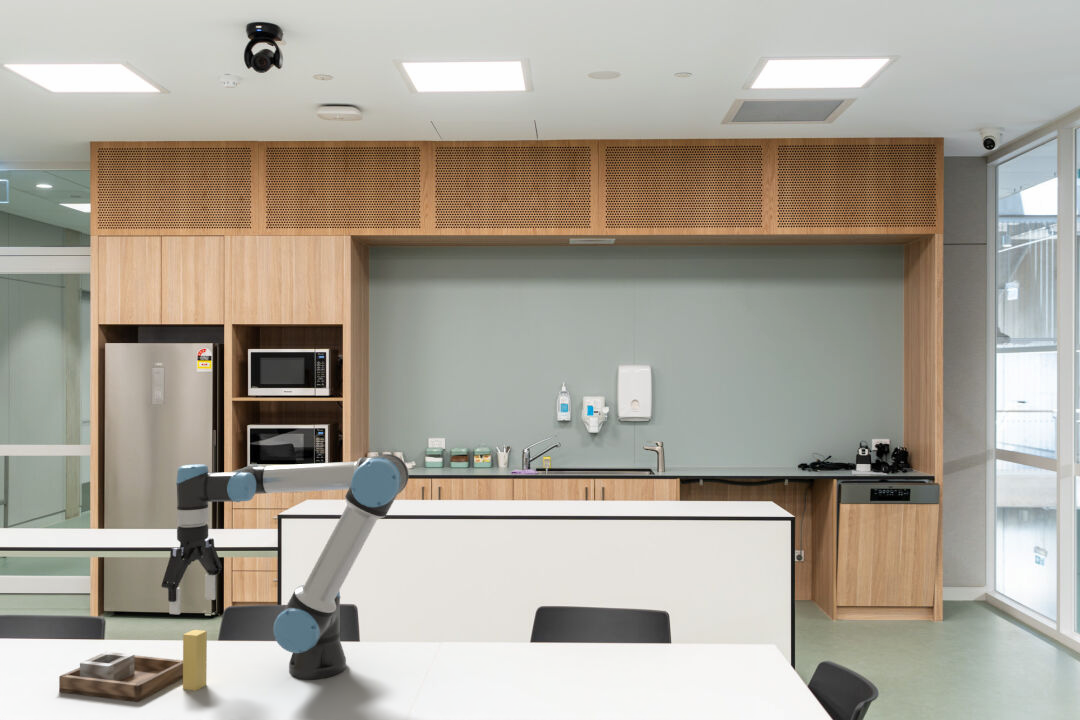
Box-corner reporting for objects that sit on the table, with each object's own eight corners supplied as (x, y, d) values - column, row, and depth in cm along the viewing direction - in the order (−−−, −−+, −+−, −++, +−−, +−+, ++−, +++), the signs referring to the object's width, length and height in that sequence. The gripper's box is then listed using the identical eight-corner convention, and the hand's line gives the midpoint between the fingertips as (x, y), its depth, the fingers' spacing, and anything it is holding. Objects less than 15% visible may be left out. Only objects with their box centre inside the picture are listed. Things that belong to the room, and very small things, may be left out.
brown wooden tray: (187, 675, 222) (187, 653, 222) (138, 701, 204) (138, 677, 204) (112, 667, 228) (113, 645, 228) (59, 692, 210) (59, 668, 211)
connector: (206, 684, 215) (206, 630, 216) (196, 690, 212) (196, 635, 212) (193, 683, 216) (193, 629, 217) (182, 689, 213) (183, 634, 213)
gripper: (211, 515, 228) (212, 592, 228) (145, 533, 204) (146, 619, 204) (235, 516, 226) (235, 594, 226) (171, 534, 202) (171, 621, 202)
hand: (193, 606), depth 215 cm, fingers open, 13 cm apart
